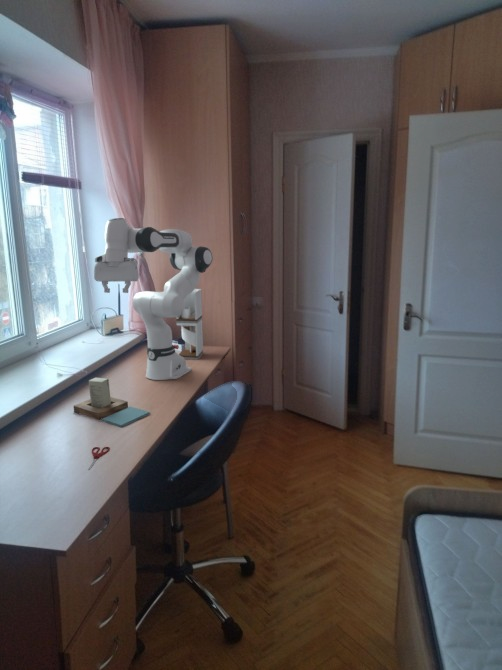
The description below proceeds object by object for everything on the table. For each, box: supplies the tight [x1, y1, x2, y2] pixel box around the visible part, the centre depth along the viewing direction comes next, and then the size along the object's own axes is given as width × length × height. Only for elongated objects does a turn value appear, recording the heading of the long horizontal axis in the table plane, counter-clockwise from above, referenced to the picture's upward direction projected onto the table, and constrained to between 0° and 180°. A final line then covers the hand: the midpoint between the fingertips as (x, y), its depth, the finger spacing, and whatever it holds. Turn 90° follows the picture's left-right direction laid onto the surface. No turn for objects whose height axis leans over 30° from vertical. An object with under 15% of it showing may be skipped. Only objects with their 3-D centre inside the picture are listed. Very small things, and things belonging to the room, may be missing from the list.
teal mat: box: [101, 406, 151, 428], centre depth 179 cm, size 14×10×1 cm
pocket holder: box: [73, 396, 129, 421], centre depth 186 cm, size 14×14×2 cm
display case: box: [175, 288, 204, 361], centre depth 252 cm, size 11×11×35 cm
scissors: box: [88, 446, 111, 470], centre depth 149 cm, size 5×14×1 cm, turn 1°
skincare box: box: [88, 377, 111, 409], centre depth 184 cm, size 6×4×12 cm
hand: (116, 292), depth 197 cm, fingers open, 8 cm apart
